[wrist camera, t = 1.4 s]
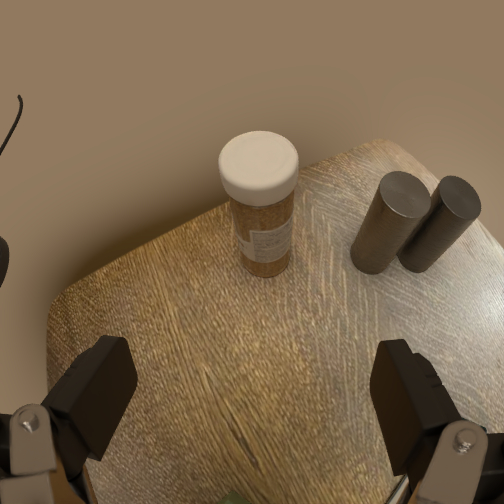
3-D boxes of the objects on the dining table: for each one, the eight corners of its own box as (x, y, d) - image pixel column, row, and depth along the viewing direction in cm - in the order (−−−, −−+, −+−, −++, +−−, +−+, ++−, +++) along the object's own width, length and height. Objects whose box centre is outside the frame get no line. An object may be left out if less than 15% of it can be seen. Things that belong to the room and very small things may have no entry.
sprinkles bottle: (238, 238, 29) (214, 134, 17) (285, 231, 29) (289, 123, 17) (244, 283, 27) (220, 192, 15) (295, 275, 27) (308, 179, 15)
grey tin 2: (390, 255, 27) (431, 195, 18) (408, 229, 29) (448, 167, 20) (420, 280, 26) (473, 229, 17) (437, 252, 27) (486, 197, 18)
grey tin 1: (342, 256, 28) (369, 192, 19) (365, 229, 29) (395, 162, 20) (374, 283, 26) (417, 228, 17) (396, 253, 27) (438, 194, 18)
